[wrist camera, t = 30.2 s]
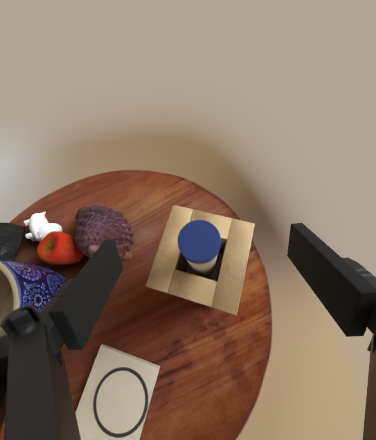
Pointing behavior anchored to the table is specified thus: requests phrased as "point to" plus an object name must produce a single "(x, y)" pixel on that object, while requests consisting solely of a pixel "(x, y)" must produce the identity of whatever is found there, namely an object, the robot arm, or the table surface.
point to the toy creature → (40, 227)
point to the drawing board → (116, 396)
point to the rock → (10, 240)
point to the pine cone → (102, 230)
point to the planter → (26, 286)
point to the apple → (59, 249)
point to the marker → (200, 245)
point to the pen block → (223, 271)
